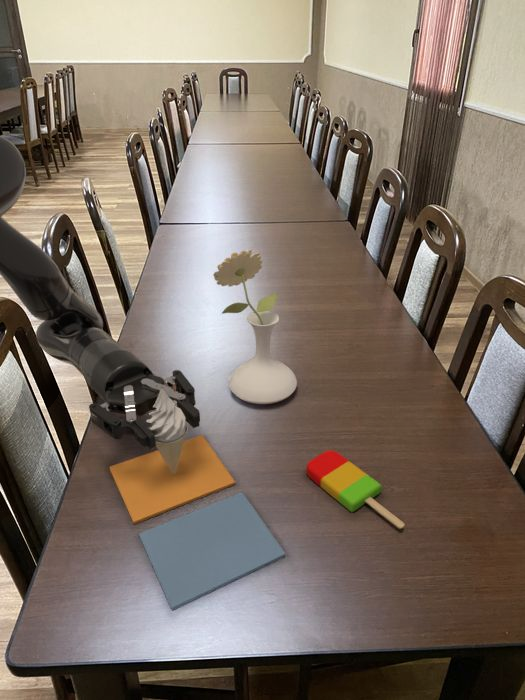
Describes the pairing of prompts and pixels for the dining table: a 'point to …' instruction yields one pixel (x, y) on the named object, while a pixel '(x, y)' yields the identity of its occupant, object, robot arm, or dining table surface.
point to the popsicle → (347, 483)
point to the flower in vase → (261, 371)
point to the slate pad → (209, 549)
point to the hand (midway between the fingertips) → (175, 431)
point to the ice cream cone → (168, 430)
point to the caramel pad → (169, 479)
